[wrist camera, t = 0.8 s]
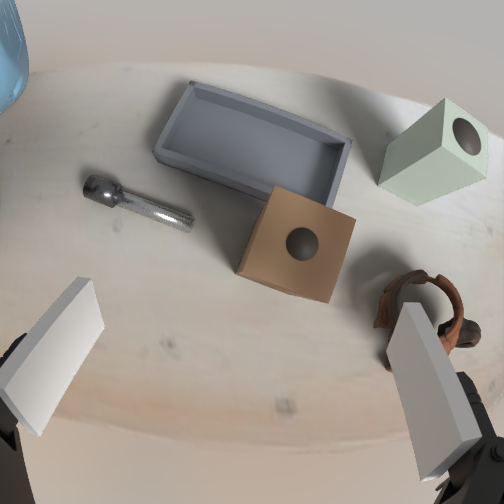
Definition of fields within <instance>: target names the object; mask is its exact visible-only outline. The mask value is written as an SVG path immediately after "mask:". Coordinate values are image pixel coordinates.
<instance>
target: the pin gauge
mask: <svg viewBox="0 0 504 504" xmlns="http://www.w3.org/2000/svg"><path fill="white" fill-rule="evenodd" d="M83 194H84V197H86V198H88V199H91V200H93V201H96V202H99V203H101V204H104V205H106V206H109V207H111V208H113V207H115V206H116V205H117V206H120V207H122V208H125V209H127V210H130V211H133V212H135V213H138V214H140V215H143V216H145V217H148V218H151V219H153V220H156V221H158V222H161V223H163V224H166V225H169V226H171V227H174V228H176V229H179V230H182V231H184V232H187V233H190V232H191V230H192V228H193V225H194V222H195V218H193V217H191V216H188V215H185V214H183V213H180V212H178V211H175V210H172V209H170V208H167V207H164V206H162V205H159V204H156V203H154V202H151V201H148V200H146V199H143V198H140V197H138V196H135V195H132V194H130V193H127V192H124V191H122V186H121V185H120V184H118V183H115V182H112V181H109V180H107V179H104V178H101V177H98V176H96V175H91V176H90V177H89V178H88V179H87V181H86V183H85V185H84V189H83Z"/></svg>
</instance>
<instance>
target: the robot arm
mask: <svg viewBox="0 0 504 504" xmlns="http://www.w3.org/2000/svg"><path fill="white" fill-rule="evenodd" d="M28 74H29V60H28V52H27V46H26V41H25V36H24V32H23V28H22V24H21V21H20V17H19V14H18V10H17V7H16V4H15V1H14V0H0V114H1V113H2V112H3V111H4V110H5V109H7V108H8V107H9V106H10V105H11V104H12V103H14V102H15V101H16V100H17V99H18V98H19V96H20V95H21V94H22V92H23V90H24V88H25V86H26V83H27V80H28ZM104 328H105V326H104V323H103V320H102V316H101V313H100V309H99V306H98V302H97V298H96V295H95V291H94V287H93V283H92V279H90V278H82V277H77V278H76V279H75V280H74V282H73V283H72V284H71V285H70V286H69V287H68V288H67V289H66V290H65V291H64V292H63V293H62V295H61V296H60V297H59V298H58V299H57V300H56V301H55V302H54V303H53V305H52V306H51V307H50V308H49V309H48V310H47V311H46V312H45V314H44V315H43V316H42V317H41V318H40V319H39V321H38V322H37V323H36V324H35V325H34V327H33V328H32V329H31V330H30V331H29V333H28V334H27V333H24V334H23V335H21V336H20V337H19V338H17V339H16V340H15V341H14V342H13V343H12V344H11V346H10V347H9V350H7V351H6V352H5V353H4V354H3V357H1V358H0V504H35V501H34V498H33V494H32V490H31V487H30V483H29V479H28V475H27V471H26V466H25V462H24V457H23V452H22V447H21V442H20V436H19V431H18V428H17V427H16V424H17V423H18V421H19V422H20V424H21V425H22V426H23V427H24V429H25V430H27V431H29V432H31V433H33V434H35V435H37V436H41V434H42V432H43V430H44V428H45V426H46V425H47V423H48V421H49V419H50V417H51V415H52V414H53V412H54V410H55V408H56V407H57V405H58V403H59V401H60V400H61V398H62V396H63V394H64V393H65V391H66V389H67V387H68V386H69V384H70V382H71V381H72V379H73V377H74V376H75V374H76V372H77V371H78V369H79V368H80V366H81V364H82V363H83V361H84V359H85V358H86V356H87V355H88V353H89V351H90V350H91V348H92V347H93V345H94V343H95V342H96V340H97V339H98V337H99V336H100V334H101V333H102V331H103V330H104ZM386 353H387V356H388V359H389V362H390V365H391V369H392V372H393V375H394V378H395V382H396V385H397V389H398V392H399V395H400V399H401V402H402V406H403V410H404V413H405V417H406V421H407V425H408V429H409V433H410V437H411V441H412V445H413V449H414V453H415V458H416V462H417V467H418V471H419V476H420V481H425V480H430V479H435V478H439V477H440V476H441V475H443V474H444V473H445V472H446V471H447V470H448V472H449V476H450V477H449V478H447V479H446V480H445V481H444V482H442V483H441V484H440V485H439V486H438V487H437V488H436V489H435V490H436V491H438V490H439V489H441V488H442V490H441V491H440V493H439V495H438V497H437V499H436V500H435V502H434V504H504V438H502V437H497V436H496V434H495V431H494V429H493V426H492V424H491V422H490V419H489V417H488V414H487V412H486V410H485V407H484V405H483V403H481V401H482V400H481V398H480V396H479V394H477V389H476V387H475V385H474V383H473V381H472V380H471V379H470V378H469V377H468V376H467V375H466V374H465V372H455V370H454V368H453V366H452V364H451V362H450V359H449V357H448V355H447V353H446V351H445V349H444V347H443V345H442V343H441V341H440V339H439V337H438V335H437V333H436V331H435V330H434V328H433V326H432V324H431V322H430V320H429V318H428V316H427V315H426V313H425V311H424V309H423V307H422V305H421V304H420V303H417V302H404V304H403V307H402V310H401V313H400V315H399V318H398V321H397V324H396V327H395V329H394V332H393V335H392V337H391V340H390V342H389V345H388V347H387V350H386Z"/></svg>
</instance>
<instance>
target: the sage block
mask: <svg viewBox="0 0 504 504" xmlns="http://www.w3.org/2000/svg"><path fill="white" fill-rule="evenodd" d="M487 167H488V128H486V127H485V126H484V125H483V124H481V123H480V122H479V121H477V120H476V119H475V118H474V117H472V116H471V115H470V114H468V113H467V112H465V111H464V110H463V109H461V108H460V107H458V106H457V105H456V104H454V103H453V102H451V101H450V100H448V99H447V98H446V97H445V98H444V99H443V100H441V101H440V102H439V103H438V104H437V105H436V106H434V107H433V108H432V109H431V110H430V111H428V112H427V113H426V114H425V115H424V116H422V117H421V118H420V119H419V120H418V121H416V122H415V123H414V124H413V125H412V126H410V127H409V128H408V129H407V130H405V131H404V132H403V133H402V134H401V135H399V136H398V137H397V138H396V139H395V140H393V141H392V142H391V143H390V144H389V145H387V148H386V153H385V157H384V162H383V166H382V170H381V174H380V178H379V182H378V187H380V188H382V189H384V190H386V191H388V192H390V193H392V194H394V195H396V196H398V197H400V198H402V199H404V200H406V201H408V202H409V203H411V204H413V205H415V206H419V205H421V204H424V203H426V202H429V201H431V200H434V199H436V198H439V197H441V196H444V195H446V194H449V193H451V192H454V191H456V190H459V189H461V188H464V187H466V186H468V185H471V184H473V183H476V182H478V181H481V180H483V179H486V178H487Z"/></svg>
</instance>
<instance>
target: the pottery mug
mask: <svg viewBox="0 0 504 504" xmlns="http://www.w3.org/2000/svg"><path fill="white" fill-rule="evenodd" d="M427 281H428V282H431V283H433V284H434V285H436V286H438V287H439V288H441V289H442V290H443V291H444V292H445V293H446V294H447V296H448V297H449V299H450V301H451V303H452V306H453V310H454V317H453V318H452V319H451V320H449V321H447V322H445V323H443V324H440V325H439V326H438V333H437V335H438V337H439V339H440V341H441V343H442V345H443V347H444V349H445V351H446V353H447V355H449V353H450V351H451V350H452V349H453V348H454V347H458V348H470V347H474V346H475V345H476V344H477V343H478V342H479V340H480V339H481V329H480V327H479V325H478V324H477V323H476V322H474V321H471V320H467V319H465V318H464V317H463V316H464V308H463V304H462V300H461V297H460V295H459V293H458V291H457V289H456V288H455V287H454V285H453V284H452V283H451V282H450V281H449V280H448V279H447V278H445V277H444V276H442V275H440V274H439V275H437V276H436V278H432V277H429V276H428V274H427V273H426V272H425V271H424V270H415V271H412V272H410V273H407V274H406V275H403V276H401V277H399V278H397V279H395V280H393V281H392V282H391V283H390V284H389V285H388V286H387V287H386V288H385V289H384V294H383V295H382V296H381V298H380V303H379V311H378V315H377V318H376V320H375V322H374V326H373V328H377V327H381V328H389V329H391V330H392V331H391V333H390V334H389V339H388V344H389V342H390V340H391V337H392V335H393V332H394V329H395V327H396V324H397V321H398V318H399V315H400V312H399V297H400V294H401V292H402V290H403V289H404V288H405V287H406V286H407V285H408V284H410V283H412V284H425V283H426V282H427ZM386 370H387V371H389V372H392V369H391V366H388V367H386Z"/></svg>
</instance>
